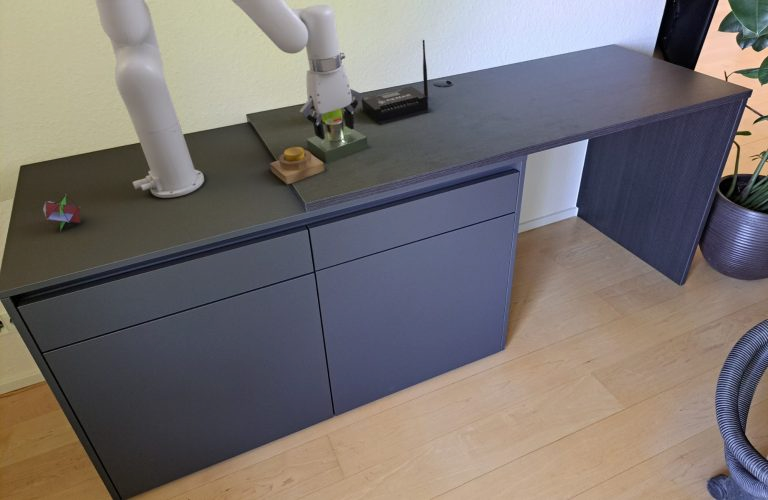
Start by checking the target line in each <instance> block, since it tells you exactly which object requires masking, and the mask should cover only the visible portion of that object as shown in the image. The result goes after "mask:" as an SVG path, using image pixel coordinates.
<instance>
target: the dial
mask: <svg viewBox="0 0 768 500" xmlns="http://www.w3.org/2000/svg"><path fill="white" fill-rule="evenodd" d="M343 120H344V119H343V118H341V117H340V118H330V119H328V120H326V121H325V122H324V125H325V129H326V130H325V133H326V132H327V138H328V140H329V141H340V140H342V139H344V138H345V134H344V122H343Z"/></svg>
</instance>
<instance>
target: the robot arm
mask: <svg viewBox="0 0 768 500" xmlns="http://www.w3.org/2000/svg"><path fill="white" fill-rule="evenodd" d="M94 1H95V3H96V8H97V12H98V16H99V22H100V25H101V28H102V29H103V31H104V33H105V35H106V36H107V37H108V38H109V39H110V43H111V46H112V49H113V53H114V56H115V60H116V62H115V67H114V79H115V80H114V81H115V84H116V87H117V90H118V93H119V95H120V97H121V99H122V102H123V104H124V106H125V108H126V110H127V112H128V115H129V117H130V121H131V123H132V126H133V129H134V131H135V133H136V135H137V138H138V141H139V143H140V146H141V148H142V152H143V155H144V157H145V159H146V162H147V165H148V167H149V170H148V171H147V173H148V175H146V176H145V178H141V179H138V180H135V181H132V185H133V188H134V189H135V190H139V189H141V190H142V191H143V192H145V191H147V190H150V192H151V194H152V196H154V197H157V198H160V199H161V198H162V199H170V198H171V199H172V198H177V197H181V196H185V195H188V194H191V193H193V192H195V191H196V190H197V189H199V188H200V187H201V186H202V185H203V184H204V182H205V177H204V174H203V172H202V171H200V170H198V169H195V166H194V163H193V161H192V157H191V155H190V150H189V147H188V145H187V141H186V139H185V135H184V132H183V129H182V125H181V124H180V120H179V118H178V114H177V111H176V108H175V105H174V103H173V99H172V96H171V94H170V91H169V88H168V84H167V82H166V76H165V73H164V72H165V71H164V63H163V58H162V54H161V49H160V46H159V43H158V39H157V34H156V30H155V26H154V22H153V17H152V13H151V10H150V7H149V6H148V4H147V2H146V1H145V0H94ZM231 1H232V2H233V3H234V4H235V6H237V7H238V8H239V9H240V10H242V11H243V12H244V13H245V15H247V17H248V18H249V19H251V21H252V22H253V23H254V24H255V25H256V26H257V27H258V28H259V29H260V30H261V31H262V32H263V33H264V34H265V35H266V36H267V37H268V39H269V40H270V41H271V42H272V43H273V44H274V45H275V47H277V48H278V49H279V50H280V51H281V52H283V53H285V54H291V55H294V54H297V53H299V52H300V53H301V52H302V51H303V50H304V49H306V56H307V60H308V61H307V62H308V66H309V70H307V71H306V96H307V100H306V102H305V103H304V105H303V106H302V107H301V109H300V110H299V114H301V115H302V116H303V117H304V118H305V119H306V120H308V121H309V122H311V123H312V124H313V130H314V134H315V136H317V137H319V138H320V139H322V140H323V139H324V138H325V135H324V133H325V130H324V125H323V123H322V117H323V114H325V113H329V112H332V111H335V110H338V109H341V110H342V109H344V111H343V118H344V124H345V125H344V126H346V127H348V128H350V129H354V130H355V126H354V125H355V118H354V114H355V112H356V108H357V106H358V105H359V101H360V100H361V99H360V98H361V96H362V93H361V92H359V91H357V90H355V89H353V88H351V86H350V81H349V77H348V73H347V70H346V68H345V66H344V65H343V64H342V63H343V62H342V61H343V59H344V60H345V58H346V54H345V53H344V52H341V51H340V45H339V37H338V30H337V24H336V15H335V11H334V9H333V7H332V6H330V5H326V4H315V5H310V6H307V7H305V8H291V7H290V6H289V5H288V4H287V3H286V1H285V0H231ZM309 111H313V112H312V115H311V114H310V113H309Z"/></svg>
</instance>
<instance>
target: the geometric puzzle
mask: <svg viewBox="0 0 768 500" xmlns="http://www.w3.org/2000/svg"><path fill="white" fill-rule="evenodd" d="M57 198H60V196H59V197H57ZM66 198H68V199H69V200H70V201H71V202H72V203H74V205H71V204H67V199H66ZM42 211H43V213H44V216H45V219H46V220H48V221H55V222H59V227H60V228H58V230H59V232H61V231H62V230H66V229H67V228H66V226H67V225H68V224H70V223H71V224H74V225H72V227H75V224H81V206H79V205H77V203H75V202H74V201H73V200H72V199H71V198H70V197H69V196H68V195H67V194H64V195H63V197H62V198H61V199H60V200H59V201H58V202H54V201H52V200H47V201H44V206H43V208H42ZM51 224H52V225H53V226H55V224H54V223H53V222H51Z"/></svg>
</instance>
